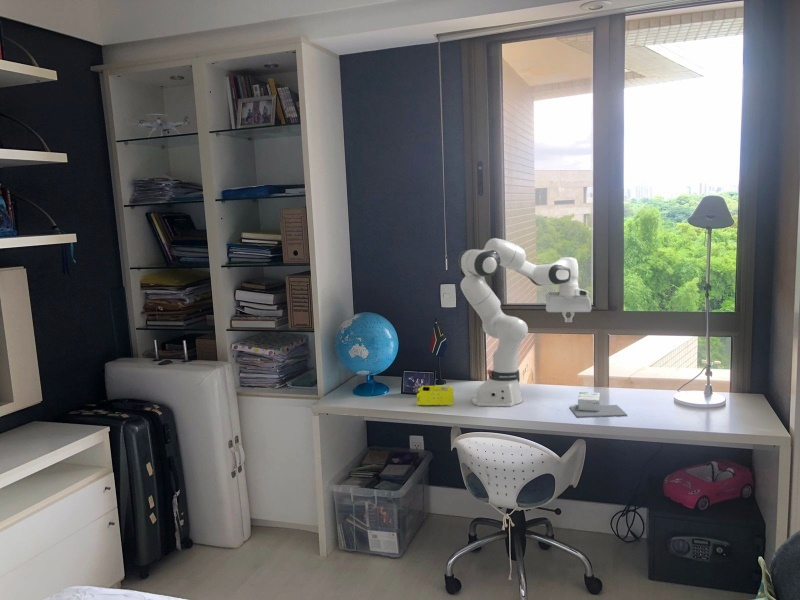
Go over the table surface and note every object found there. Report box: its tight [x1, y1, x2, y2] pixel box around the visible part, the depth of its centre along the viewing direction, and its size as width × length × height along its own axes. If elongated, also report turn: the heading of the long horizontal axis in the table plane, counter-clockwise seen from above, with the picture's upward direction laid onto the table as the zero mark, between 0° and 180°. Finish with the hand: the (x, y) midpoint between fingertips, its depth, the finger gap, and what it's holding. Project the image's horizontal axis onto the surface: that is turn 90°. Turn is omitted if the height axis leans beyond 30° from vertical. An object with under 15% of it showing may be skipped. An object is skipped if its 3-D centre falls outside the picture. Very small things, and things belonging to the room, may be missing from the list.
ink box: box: [577, 391, 601, 411], centre depth 272 cm, size 9×5×12 cm
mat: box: [569, 404, 628, 419], centre depth 267 cm, size 20×14×1 cm
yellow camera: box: [416, 385, 455, 407], centre depth 288 cm, size 16×6×8 cm, turn 81°
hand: (568, 322), depth 295 cm, fingers closed
